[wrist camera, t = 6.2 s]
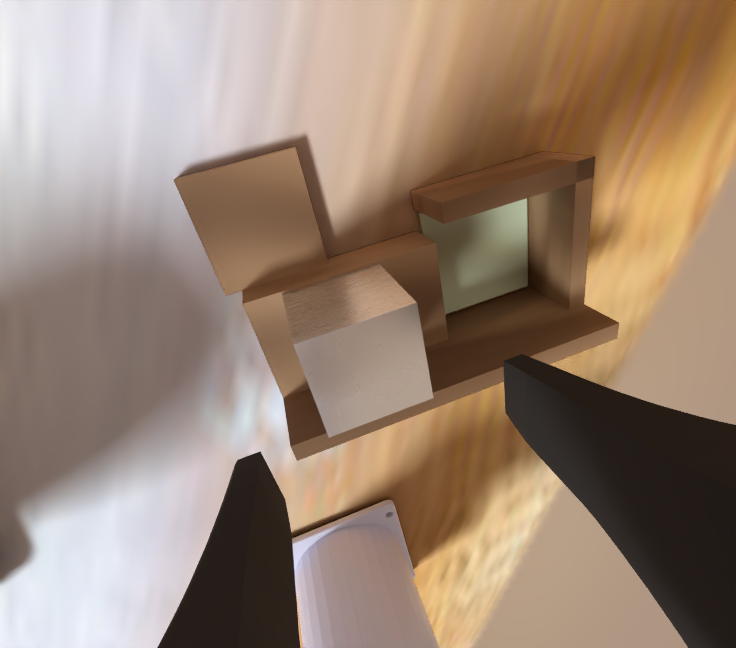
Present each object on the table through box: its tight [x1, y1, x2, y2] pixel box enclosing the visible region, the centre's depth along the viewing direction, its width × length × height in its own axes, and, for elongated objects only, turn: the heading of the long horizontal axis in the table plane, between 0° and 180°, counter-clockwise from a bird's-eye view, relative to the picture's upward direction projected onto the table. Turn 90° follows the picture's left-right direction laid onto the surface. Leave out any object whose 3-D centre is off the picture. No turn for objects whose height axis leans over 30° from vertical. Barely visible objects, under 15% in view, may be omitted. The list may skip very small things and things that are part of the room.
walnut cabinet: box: [174, 147, 619, 461], centre depth 16 cm, size 10×15×5 cm
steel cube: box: [282, 263, 433, 437], centre depth 15 cm, size 4×4×4 cm
